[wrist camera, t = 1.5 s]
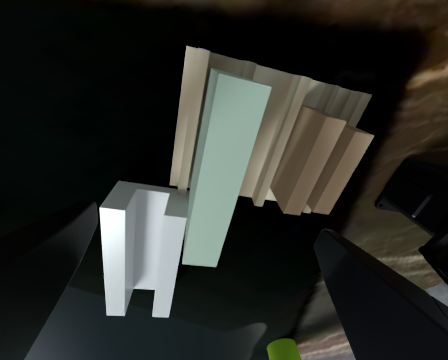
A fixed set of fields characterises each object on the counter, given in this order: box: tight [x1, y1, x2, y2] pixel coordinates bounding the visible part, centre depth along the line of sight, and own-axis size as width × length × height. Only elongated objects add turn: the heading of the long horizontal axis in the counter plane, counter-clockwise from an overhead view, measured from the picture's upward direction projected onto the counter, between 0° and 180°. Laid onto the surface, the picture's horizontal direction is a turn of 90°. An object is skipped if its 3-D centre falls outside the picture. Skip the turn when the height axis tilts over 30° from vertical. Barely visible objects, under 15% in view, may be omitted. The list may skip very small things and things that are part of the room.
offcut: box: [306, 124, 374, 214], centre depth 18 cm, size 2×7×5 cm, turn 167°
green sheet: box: [182, 68, 272, 267], centre depth 14 cm, size 2×10×10 cm, turn 167°
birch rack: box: [170, 46, 372, 213], centre depth 19 cm, size 16×12×2 cm
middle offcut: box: [270, 105, 347, 215], centre depth 18 cm, size 2×8×5 cm, turn 167°
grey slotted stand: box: [100, 181, 190, 317], centre depth 24 cm, size 7×16×4 cm, turn 167°
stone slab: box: [426, 282, 448, 306], centre depth 39 cm, size 18×2×10 cm
